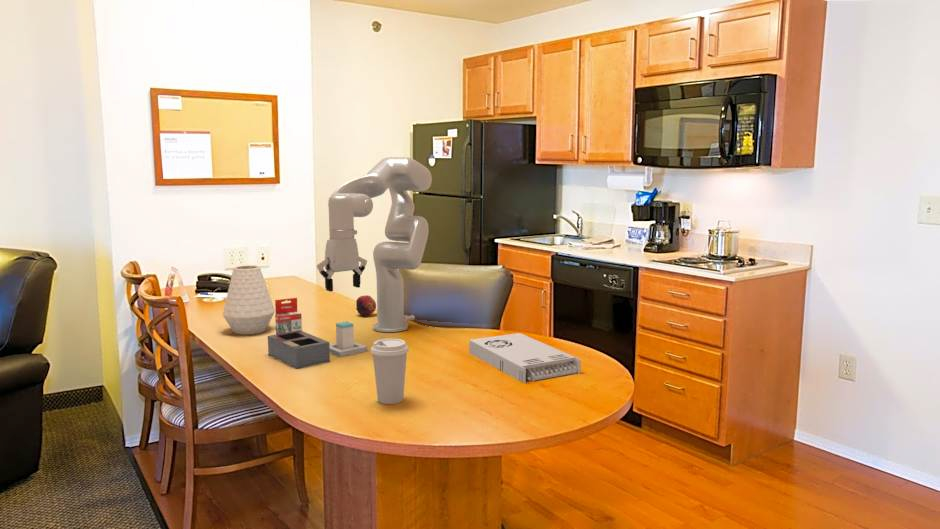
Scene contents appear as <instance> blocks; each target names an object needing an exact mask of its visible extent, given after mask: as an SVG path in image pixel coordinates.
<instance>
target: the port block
mask: <svg viewBox="0 0 940 529" xmlns="http://www.w3.org/2000/svg"><path fill="white" fill-rule="evenodd" d="M329 344H330V342H329V341H327V340H325V339H324V338H323V339H322V338H320V337H318V336H315V335H313V334H311V333H309V332H305V331H303V330H302V331H301V330H298V331H292V332H287V333H281V334H276V333H275V334H272V335H267V352H268V355H269V356H270V357H272V358H275V360H276V359H277V360H278V361H280V362H283V363H284V364H286V365H288V366H290V367H291V368H294V369H296V370H297V369H302V368H306V367H310V366H311V367H312V366H316V365H319V364H320V363H321V364H324V363H325V364H326V363H328V362H330V361H331V357H330V356H331V353H330V347H329ZM315 364H316V365H315Z"/></svg>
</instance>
